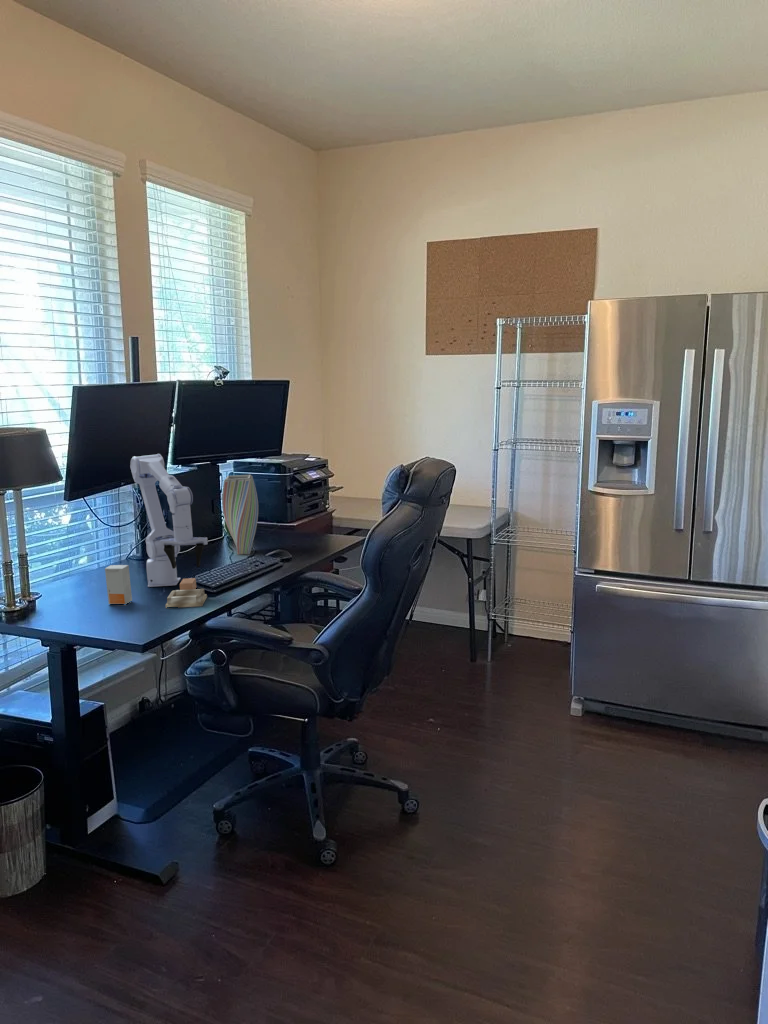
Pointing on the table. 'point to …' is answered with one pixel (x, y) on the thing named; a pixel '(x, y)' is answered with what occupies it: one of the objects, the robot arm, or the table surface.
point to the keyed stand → (186, 598)
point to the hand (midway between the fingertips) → (186, 567)
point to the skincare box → (118, 584)
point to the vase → (240, 510)
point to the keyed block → (188, 584)
